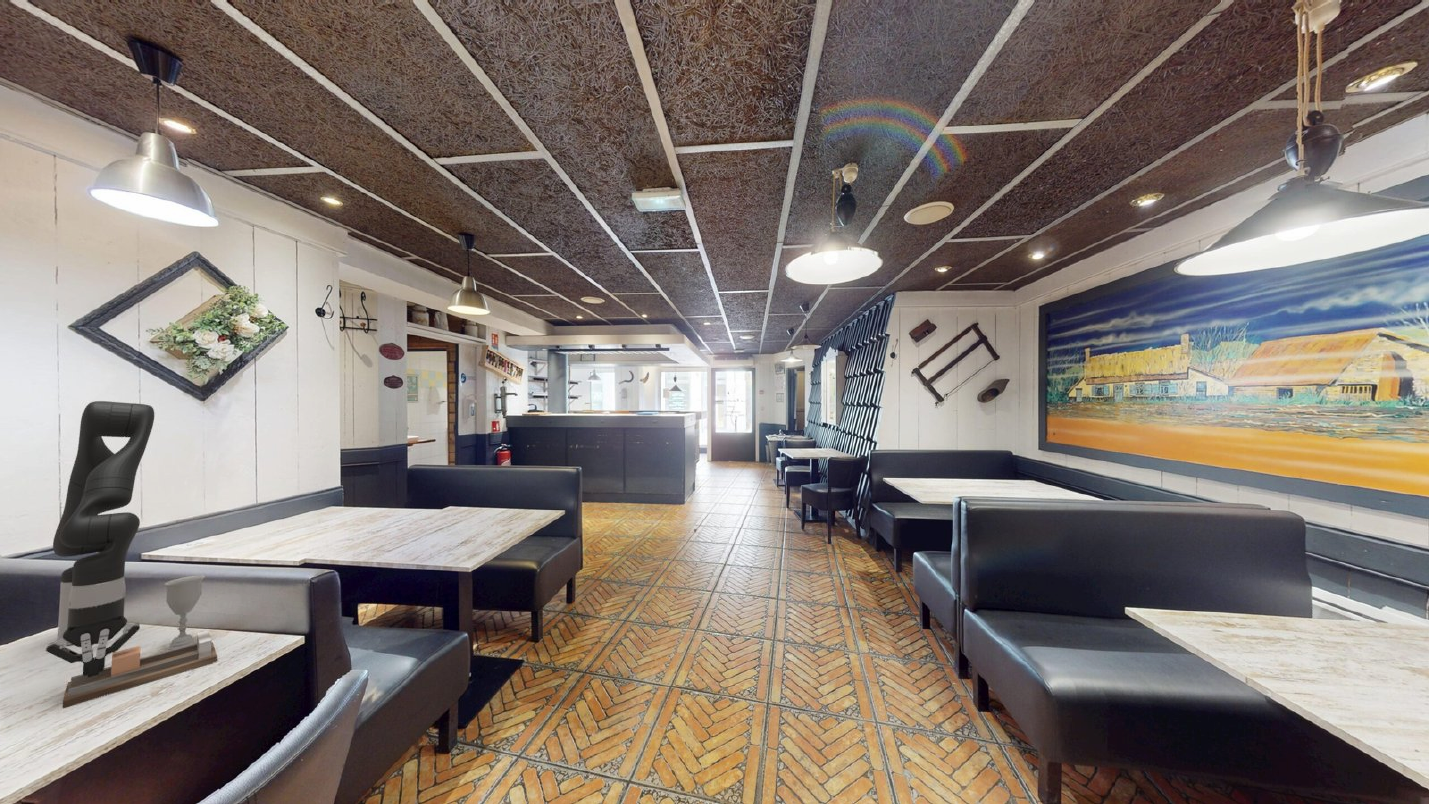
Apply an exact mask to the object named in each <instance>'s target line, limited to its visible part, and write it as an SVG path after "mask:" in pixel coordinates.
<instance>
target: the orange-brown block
mask: <svg viewBox="0 0 1429 804" xmlns="http://www.w3.org/2000/svg"><path fill="white" fill-rule="evenodd" d="M111 654H112V657H111V666H110V667H111V676H115V675H118V674H122V673H125V672H129V671H133V670H136V669H140V658H141V645H138V646H135V647H134V646H133V647H130V648H126V649H122V650H117V651H116V652H114V653H111Z"/></svg>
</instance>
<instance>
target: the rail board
mask: <svg viewBox="0 0 1429 804" xmlns="http://www.w3.org/2000/svg"><path fill="white" fill-rule="evenodd" d="M216 661H217V662H218V654H217V650H216V647H215V643H214V642H212V638H211V634H210V631H209V630H205V631H201V632H198V633H197V632H196V643H195V644H192V645H188V646H185V647H181V648H177V649H174V650H167V651H163V652H159V653H155V654H152V655H149V656H143V657H140V669H136V670H133V671H129V672H125V673H122V674H118V675H115V676H111V666H108V667H104V669H103V671H101V672H99V675H95V676H92V677H88V675H86V676H84V675H83V673H82V674H78V675H74V676H71V678H70V681H68V682H67V684H66V687H65V692H64V695H63V699H62V709H65V708H68V707H71V706H75V705H77V704H78V705H79V704H81V703H84V702H85V703H86V702H88V701H92V700H94V699H98V698H101V696H102V697H104V695H105V696H108V695H111V694H114V693H117V692H120V691H121V690H122V691H125V690H128V689H130V688H134V686H135V687H139V686H142V685H144V684H147V683H152V682H154V681H159V680H160V679H164V677H165V678H167V677H171V676H175V675H177V674H182V673H185V672H187V670H188V671H191V670H194V669H198V668H201V667H204V665H205V666H207V664H208V665H211V664H214V663H213V662H215V663H217V662H216ZM210 663H211V664H210ZM197 667H198V668H197ZM190 669H191V670H190ZM184 671H185V672H184ZM122 691H121V692H122ZM107 694H108V695H107Z"/></svg>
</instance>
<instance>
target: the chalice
mask: <svg viewBox="0 0 1429 804" xmlns="http://www.w3.org/2000/svg"><path fill="white" fill-rule="evenodd" d="M205 577H206V576H205V575H201V574H199V575H198V574H197V575H188V576H186V577H185V576H184V577H180V578H176V579H172V580H170V581H167V582H165V583H164V584H163V585H164V586H165V587H166V603H167V605H168V607H169V609H170V610H171V611H172V612H173V613H174V614H175V615H179V616H180V619H179V621H178V623H179V627H178V628H177V630H179V634H178V636H175V637H174V638H173V639H172V640H171V642H170V643H169V646H168V648H166V650H167V651H170V650H174V649H177V648H181V647H185V646H188V645H192V644H196V642H197V640H195V638H194V637H193V635H192V634H187V633H186V630H187V628H188V625H187V621H188V619H187V614H188V613H190V612H192V610H193V609H194V608H195V606H196V604H197V603H198V601H199V600H200V597H201V596H202V588H203V587H202V586H203V580H204V578H205Z"/></svg>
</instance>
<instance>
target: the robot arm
mask: <svg viewBox="0 0 1429 804" xmlns="http://www.w3.org/2000/svg"><path fill="white" fill-rule="evenodd" d="M154 422H155V409H154V407H153V406H151V405H149V404H144V403H134V402H132V403H131V402H119V401H106V400H97V401H91V402H90V403H88V404H87V405H85V408H84V410H83V412H82V415H81V419H80V426H79V437H78V445H77V452H76V457H75V460H74V463H73V466H72V470H71V473H70V476H69V477H70V478H69V481H68V486H67V490H66V491H67V492H66V499H65V504H64V509H63V512H62V515H61V517H60V520H59V522H58V525H57V529H56V531H55V534H54V537H53V543H52V549H53V552H54V554H55V555H56V556H59V557H62V558H65V557H68V558H69V557H74V556H75V557H76V556H82V555H83V557H81V558H78V559H77V560H75V562H74V563H73V565H72V566H71V567H69V568H67V569H65V570H63V572H61V575H60V591H59V592H60V593H59V609H58V625H57V626H58V628H57V640H56V641H54V642H51V643H49V644H47V646H46V648H45V651H46V653H49V654H51V655H53V656H55V657H57V658H59V659H61V660H63V661H66V662H67V663H69V664H74V663H77V662H78V663H80V662H81V663H82V674H83V675H84V676H86V675H88V677H92V676H95V675H99V672H101V671H103V669H104V668H105V665H106V664H105V662H106V656H108V655H110V654H112V653H114V652H117V651H119V650H120V648H122V647H123V646H124V645H125V644H126V643H127V642H128V641H129V640H130V639H131V638H132V637H133V636H134V635H135V634H137V632H138V631H139V630H140V628H141V624H140V623H139V622H137V623H136V622H135V623H131V622H128V620H127V618H126V617H125V603H126V602H125V599H126V593H127V592H126V580H125V567H126V559H127V554H128V551H129V548H130V546H131V544H132V541H134V540H133V539H134V538H135V536H136V535H137V532H138V530H139V529H140V525H141V524H140V522H141V520H140V518H139V516H137V515H136V514H135V513H133V512H129V511H127V512H114V513H105V512H109V511H114V510H118V509H121V508H124V507H126V506H127V505H129V504H130V503H131V501H132V499H133V498H132V497H133V493H134V486H135V481H136V476H137V472H138V468H139V465H140V463H141V461H142V458H143V456H144V453H145V450H146V448H147V445H148V442H149V439H150V436H151V434H152V430H153V426H154ZM103 437H105V438H106V437H111V438H129V440H128V441H127V443H125V445H124V446H123V447H121V448H120V450H118V451H117V452H113V451H112V450H111V449H110V448H109V447H108V446H107V444H106V443H105V442H104V439H103ZM102 513H105V514H102ZM93 553H94V554H93ZM88 554H91V555H88ZM84 555H88V556H84ZM121 630H122V635H121V636H119V637H118V638H117V639H116V640H115V642H113V643H112V644H111V645H110V646H108V642H109V641H111V640H112V639H113V638H115V636H116V635H118V633H119V632H120V631H121ZM71 645H73V646H75V647H78V648H81V653H78V652H76V651H73V650H72V649H70V648H68V647H67V646H71ZM94 645H97V649H96V656H95V657H94V650H93V649H94V648H93V646H94ZM107 646H108V647H107Z"/></svg>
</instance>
